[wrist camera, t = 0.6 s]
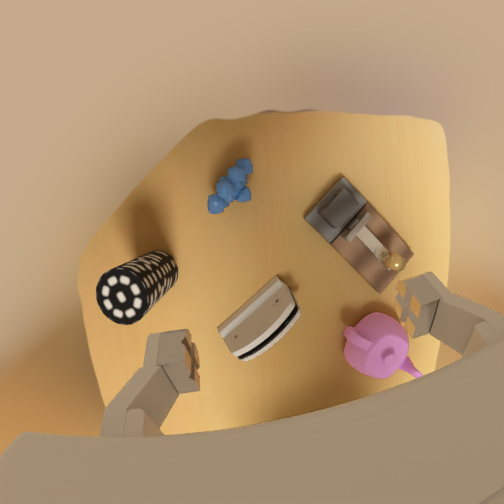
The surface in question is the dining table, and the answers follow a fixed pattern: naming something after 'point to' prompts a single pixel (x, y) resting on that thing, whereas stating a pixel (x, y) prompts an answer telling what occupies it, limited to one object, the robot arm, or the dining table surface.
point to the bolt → (379, 249)
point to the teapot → (378, 346)
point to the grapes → (231, 187)
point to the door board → (356, 232)
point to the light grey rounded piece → (261, 321)
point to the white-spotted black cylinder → (135, 286)
